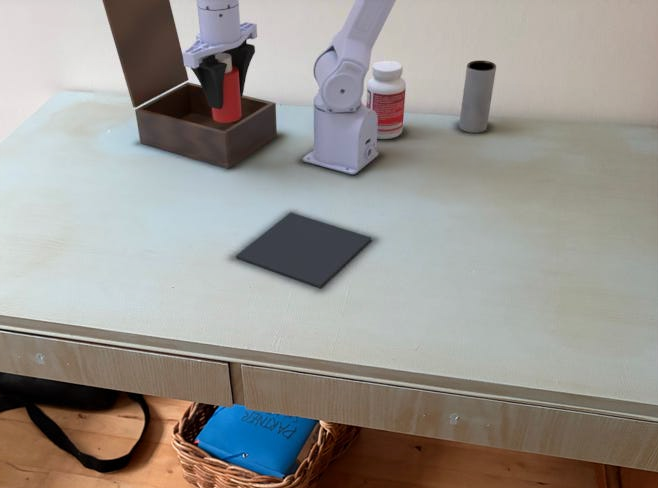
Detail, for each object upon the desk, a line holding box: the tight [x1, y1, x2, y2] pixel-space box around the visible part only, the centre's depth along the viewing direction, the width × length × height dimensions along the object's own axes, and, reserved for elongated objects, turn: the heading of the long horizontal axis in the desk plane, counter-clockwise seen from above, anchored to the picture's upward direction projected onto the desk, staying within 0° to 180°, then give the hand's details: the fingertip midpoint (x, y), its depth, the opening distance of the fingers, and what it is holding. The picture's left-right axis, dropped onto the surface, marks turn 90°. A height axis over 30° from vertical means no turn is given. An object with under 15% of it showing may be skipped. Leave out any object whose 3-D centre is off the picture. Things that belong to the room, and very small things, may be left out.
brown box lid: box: [101, 0, 189, 109], centre depth 121 cm, size 19×14×4 cm
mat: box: [235, 212, 372, 289], centre depth 99 cm, size 13×13×1 cm
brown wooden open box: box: [134, 81, 278, 170], centre depth 124 cm, size 19×14×6 cm
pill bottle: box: [365, 60, 407, 140], centre depth 122 cm, size 6×6×11 cm
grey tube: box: [459, 59, 497, 134], centre depth 122 cm, size 4×4×10 cm
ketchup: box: [212, 53, 242, 123], centre depth 110 cm, size 4×4×9 cm
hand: (226, 101), depth 112 cm, fingers closed on ketchup, 4 cm apart
